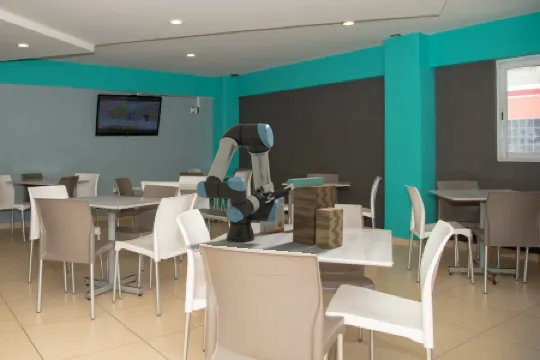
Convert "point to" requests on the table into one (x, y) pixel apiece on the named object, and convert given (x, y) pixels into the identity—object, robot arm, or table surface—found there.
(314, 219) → the tall stand
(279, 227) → the cracker box
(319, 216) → the short stand
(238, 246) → the table surface
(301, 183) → the batten
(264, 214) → the robot arm
